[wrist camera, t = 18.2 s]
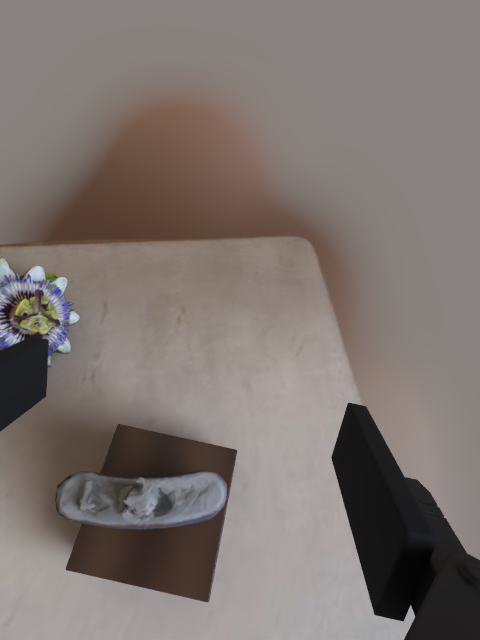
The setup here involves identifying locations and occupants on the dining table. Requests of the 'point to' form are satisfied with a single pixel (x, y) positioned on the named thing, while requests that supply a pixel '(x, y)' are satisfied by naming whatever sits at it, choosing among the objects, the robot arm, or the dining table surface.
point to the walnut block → (163, 543)
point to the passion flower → (34, 308)
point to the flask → (141, 499)
